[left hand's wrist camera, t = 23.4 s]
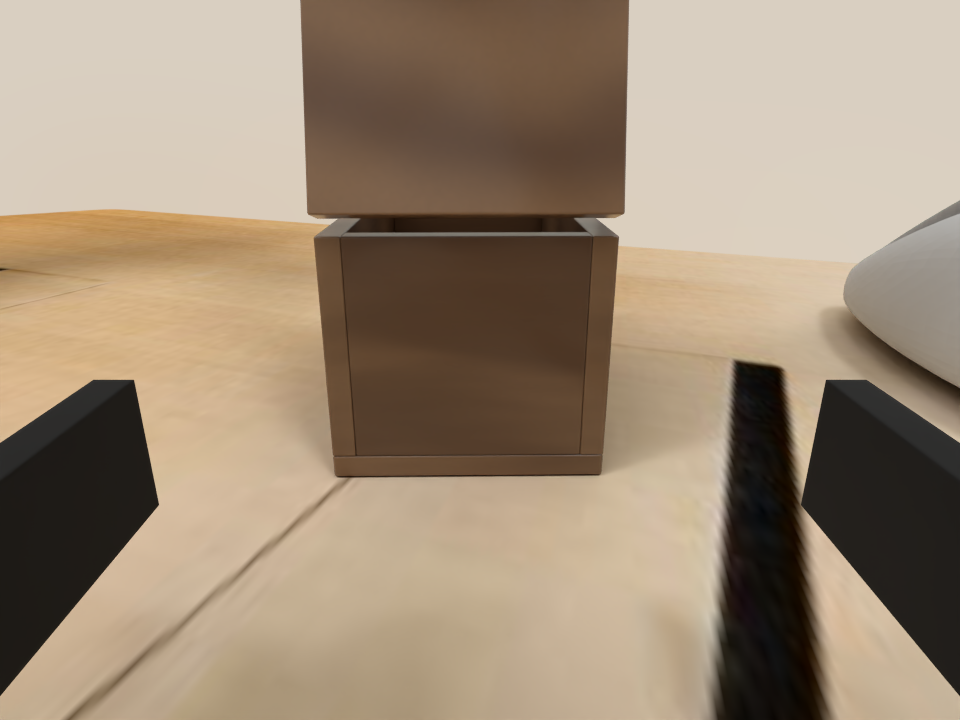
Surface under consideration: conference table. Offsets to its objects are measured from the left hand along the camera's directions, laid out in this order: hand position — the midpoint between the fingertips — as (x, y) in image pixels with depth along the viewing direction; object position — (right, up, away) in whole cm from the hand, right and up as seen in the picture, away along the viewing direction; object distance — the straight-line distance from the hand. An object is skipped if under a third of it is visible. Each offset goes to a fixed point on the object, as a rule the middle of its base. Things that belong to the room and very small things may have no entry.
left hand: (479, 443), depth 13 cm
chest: (0, 0, +19) cm, 19 cm away
